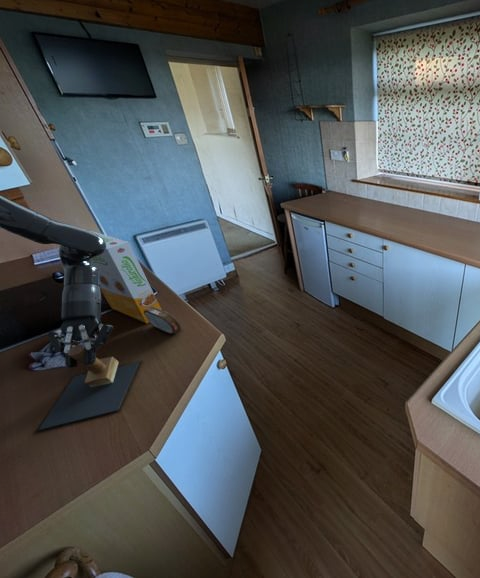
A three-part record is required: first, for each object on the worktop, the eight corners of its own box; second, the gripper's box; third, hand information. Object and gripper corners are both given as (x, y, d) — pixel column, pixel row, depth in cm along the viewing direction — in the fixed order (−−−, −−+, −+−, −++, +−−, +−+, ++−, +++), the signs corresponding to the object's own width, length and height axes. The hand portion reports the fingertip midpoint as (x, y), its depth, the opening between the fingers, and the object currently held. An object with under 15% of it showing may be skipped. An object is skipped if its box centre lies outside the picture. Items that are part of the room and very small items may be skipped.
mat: (39, 430, 72) (38, 429, 72) (74, 377, 86) (74, 376, 86) (118, 411, 77) (117, 410, 77) (139, 363, 91) (138, 362, 91)
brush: (91, 387, 83) (58, 364, 73) (98, 366, 87) (68, 341, 78) (113, 382, 84) (83, 359, 75) (118, 361, 89) (91, 337, 79)
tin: (184, 332, 104) (175, 313, 99) (175, 338, 101) (166, 319, 97) (157, 321, 109) (148, 302, 104) (148, 326, 106) (138, 307, 102)
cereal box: (163, 314, 113) (128, 241, 97) (146, 323, 108) (107, 248, 92) (128, 300, 120) (91, 230, 105) (111, 308, 116) (69, 236, 100)
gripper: (37, 303, 75) (34, 372, 72) (102, 296, 79) (102, 360, 75) (62, 308, 82) (60, 370, 79) (120, 301, 86) (121, 360, 82)
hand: (80, 365), depth 77 cm, fingers closed on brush, 3 cm apart
